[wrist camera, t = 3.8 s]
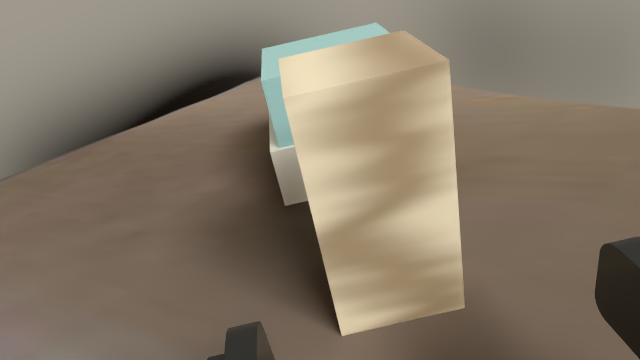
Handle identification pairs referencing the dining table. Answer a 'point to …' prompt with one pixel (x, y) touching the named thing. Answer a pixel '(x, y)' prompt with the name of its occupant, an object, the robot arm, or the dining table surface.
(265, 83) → the tower top
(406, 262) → the birch post
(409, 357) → the dining table surface
